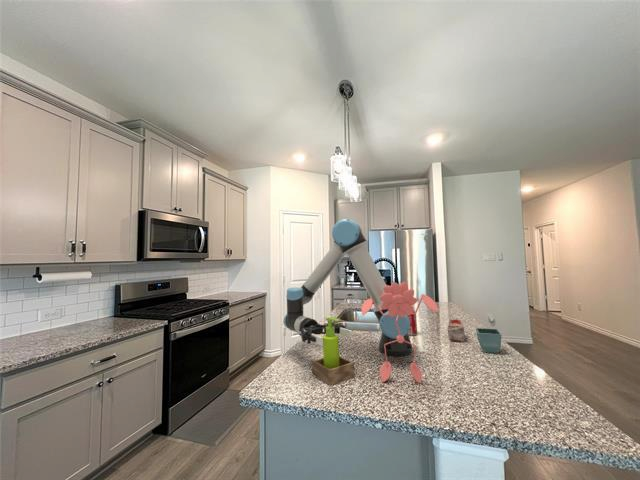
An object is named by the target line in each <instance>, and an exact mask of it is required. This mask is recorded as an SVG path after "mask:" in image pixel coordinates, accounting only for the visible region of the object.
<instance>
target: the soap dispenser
mask: <svg viewBox="0 0 640 480" xmlns="http://www.w3.org/2000/svg"><path fill="white" fill-rule="evenodd" d="M324 319H325V321H327V324H328V326H327V327H326V334H323V336H322V337H323V346H322V355H323V356H322V358H323V361H324V366H325V367H327V368H328V369H333V368H336V367H339V356H340V351H339V350H340V349H339V348H340V347H339V336H338V335H337V334H336V333H335V327H334V326H332V325H333V321H334V322H336V323H337V322H340V321H341V319H339V318H336V317H326V318H324Z"/></svg>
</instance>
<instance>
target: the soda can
mask: <svg viewBox="0 0 640 480" xmlns="http://www.w3.org/2000/svg"><path fill="white" fill-rule="evenodd" d="M415 311H416V309H414V312H412V313H415ZM415 314H416V315H415ZM415 314H407V315H408V318H409V320H410V328H409V331H408V336H409V337H410V336H413V337H414V336H417V334H418V325H417V313H415Z"/></svg>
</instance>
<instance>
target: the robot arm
mask: <svg viewBox="0 0 640 480" xmlns="http://www.w3.org/2000/svg"><path fill="white" fill-rule="evenodd" d="M333 225H334V226H333V227H332V231H331V235H332V239H333V245H332V246H331V248H330V249H329V250H328V252H327V253H326V254H325V255H324V257H323V258H322V259H321V260H320V261H319V263H318V265H317V266H316V267H315V269H314V270H313V271H312V272H311V274H310V275H308V278H307V279H306V280H305V281H304V283H303V284H302V286H301V287H288V288H287V289H286V296H285V297H286V314H285V315H284V318H283V325H284V327H285V328H287V329H288V330H289V331H292V332H296V333H297V334H298V336H300V337H301V341H302V342H303V343H305V342H307V344H311V343H313V344H316V345H319V346H321V347H323V336H320V335H326V327H327V326H328V323H327V322H326V323H324V324H320V323H318V322H317V320H315V319H313V318H310V317H307V316H305V315H304V305H307V304H309V303H310V302H311V301H312V300H313V297H314V295H315V294H316V293H317V292H318V290H319V289H320V288H321V286H322V285H323V284H324V282H325V281H326V280H327V278H329V276H330V275H331V274H332V273H333V271H334V270H335V269H336V267H337V266H338V265H339V263H340V262H342V260H343V259H344V257H346V256H347V257H348V258H349V261H350V262H351V264H352V266H353V268H354V270H355V271H356V273H357V275H358V277H359V279H360V281H361V283H362V286H364V289H365V290H366V292H367V295H368V297H369V299H370V298H372V300H373V301H374V303H375V304H376V305H377V306H378V307H379V309H380V310H381V311H382V312H383V314H388V309H382V308H381V305H382V302H383V301H381V300H380V296H381V295H383V294H385V291H384V289H383V287H384V286H388V284H386V282H385V280H384V277H382V275H381V272H380V271H379V269H378V267H377V265H376V263H375V262H374V260H373V258H372V256H371V254H370V252H369V250H368V249H367V247H366V246H367V243H368V241H367V240H366V238H365V236H364V233H363V232H362V228H361V227H360V225H359V224H358V223H357V222H356V221H354V220H352V219H350V218H342V219H340V220H338V221H337V222H336V223H334V224H333ZM373 306H374V307H373V313H374V315H375V318H377V320H378V323H379V328H380V330H381V334H380V339H379V343H378V350H379V352H380V353H382V354H384V355H385V348H386V356H387V355H388V356H394V357H402V356H403V357H404V356H405V357H406V356H409V355H412V353H414V351H413V350H414V349H413V348H414V347H413V345H412V344H413V343H412V342H411V339H410V335H408V331H409V328H410V320H409V318H408V315H407V314H406V315H405V317H404V318H403V317H400V316H399V317H398V320H397V324H398V327H399V331H400V334H401V335H402V336H403V337H404V340H405V341H407V342H409V343H412V344H409V343H407V342H405V341H404V342H403V343H399V342H397V341H395V340H397V339H396V338H397V336H398V335H399V332H398V329H397V326H396V323H395V322H396V318H397V315H398V314H397V313H396V315H395V316H394V317H391V316H390V315H387V316H384V315H382V313H381V312H380V311H379V310H378V309H377V307H376V306H375V305H374V304H373ZM332 326H334V327H335V334H336V335H337V334H338V335H340V336H343V337H345V338H349V339H353V330H350V329H348V328H346V325H343V324H341V325H339V324H332ZM392 341H395V342H392ZM389 342H392V343H390V344H387V345H385V348H384V344H386V343H389Z"/></svg>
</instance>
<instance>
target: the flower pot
mask: <svg viewBox="0 0 640 480" xmlns="http://www.w3.org/2000/svg"><path fill="white" fill-rule="evenodd" d="M475 332H476V337H477V341H478V344H479V346H480V347H481V350H482V351H483V352H484V353H491V354H498V353H499V351H500V350H501V347H502V338H503V337H502V335H503V334H502V333H501V332H500V331H499V330H498V329H497V328H485V327H484V328H483V327H481V328H480V327H476V328H475Z"/></svg>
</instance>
